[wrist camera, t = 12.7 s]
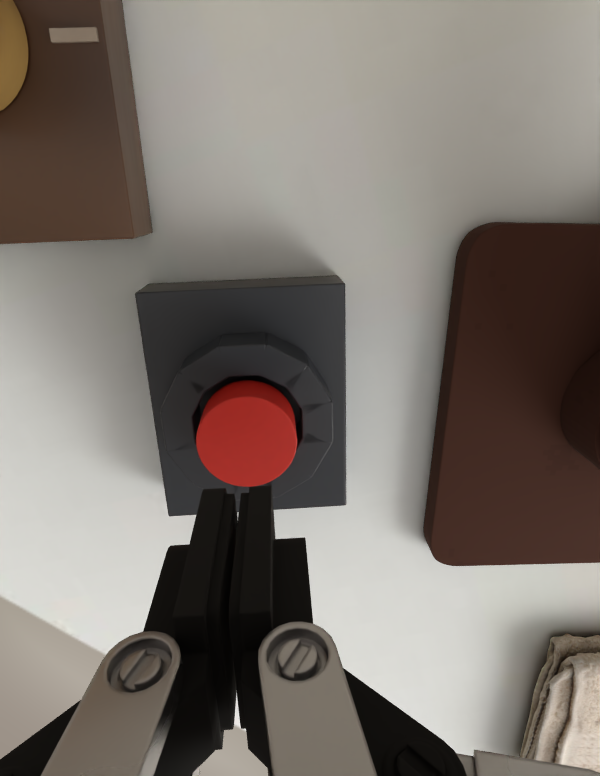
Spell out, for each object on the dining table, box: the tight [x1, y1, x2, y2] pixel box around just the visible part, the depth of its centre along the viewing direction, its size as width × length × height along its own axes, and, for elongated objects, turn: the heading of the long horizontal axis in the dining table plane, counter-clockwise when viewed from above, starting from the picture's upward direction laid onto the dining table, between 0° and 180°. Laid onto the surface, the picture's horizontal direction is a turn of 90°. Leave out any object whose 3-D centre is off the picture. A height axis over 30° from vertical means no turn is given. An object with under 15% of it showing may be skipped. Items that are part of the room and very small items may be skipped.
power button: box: [196, 380, 297, 487], centre depth 19 cm, size 4×4×2 cm
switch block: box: [135, 275, 346, 516], centre depth 21 cm, size 10×8×4 cm
